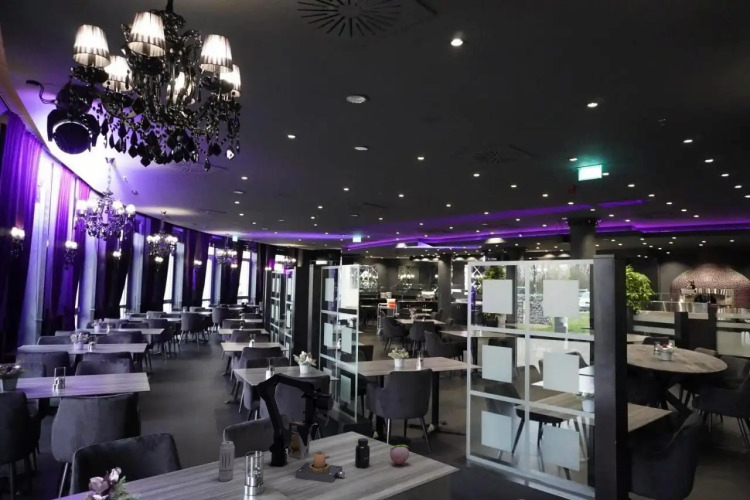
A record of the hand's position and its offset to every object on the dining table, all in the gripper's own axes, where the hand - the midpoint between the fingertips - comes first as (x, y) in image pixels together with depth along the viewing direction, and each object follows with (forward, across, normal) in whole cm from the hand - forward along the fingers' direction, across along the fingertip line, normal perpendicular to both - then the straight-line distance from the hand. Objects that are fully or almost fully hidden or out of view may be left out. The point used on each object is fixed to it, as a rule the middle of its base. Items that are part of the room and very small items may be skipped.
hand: (309, 443), depth 220 cm
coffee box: (+12, +16, +12) cm, 23 cm away
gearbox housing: (+12, -5, -8) cm, 15 cm away
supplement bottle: (+12, +12, -22) cm, 28 cm away
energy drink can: (+12, -22, +29) cm, 38 cm away
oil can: (+9, -5, -8) cm, 13 cm away
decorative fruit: (+12, +19, -38) cm, 44 cm away
